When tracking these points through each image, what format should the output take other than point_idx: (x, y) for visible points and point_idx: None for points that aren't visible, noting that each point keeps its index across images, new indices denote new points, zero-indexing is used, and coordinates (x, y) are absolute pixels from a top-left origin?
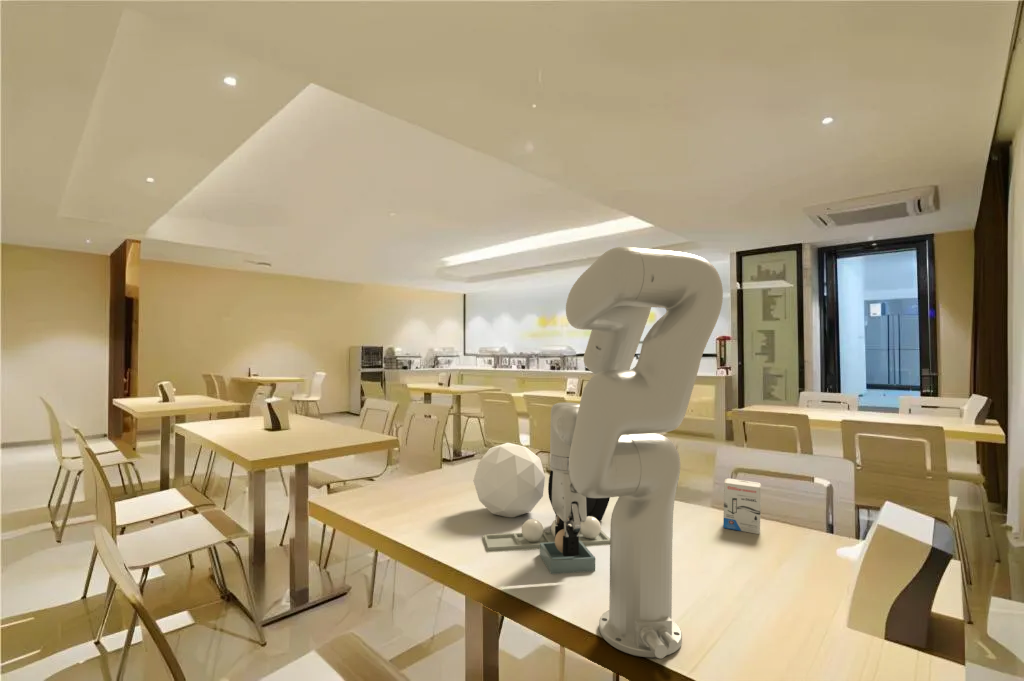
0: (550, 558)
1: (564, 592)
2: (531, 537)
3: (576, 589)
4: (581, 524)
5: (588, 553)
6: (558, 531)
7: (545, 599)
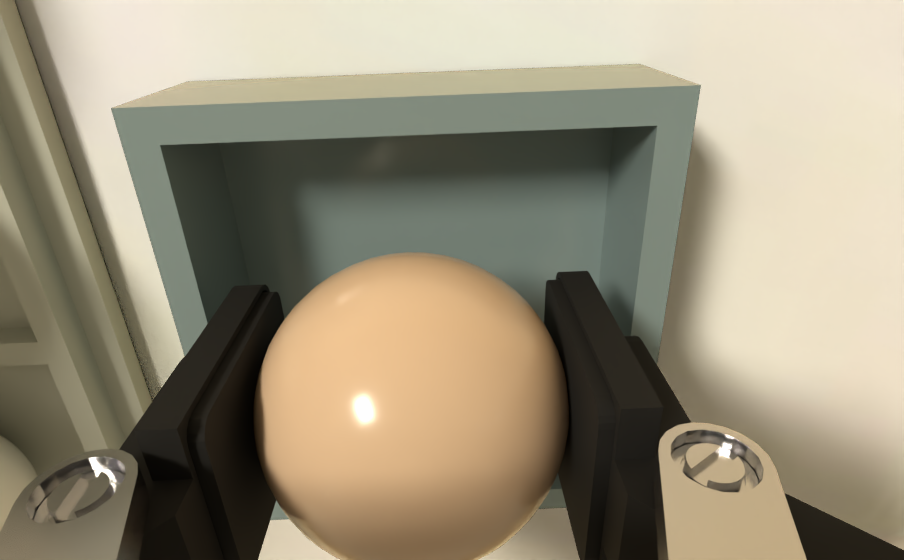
0: None
1: (845, 383)
2: None
3: (844, 302)
4: None
5: (543, 129)
6: (260, 518)
7: (871, 490)
